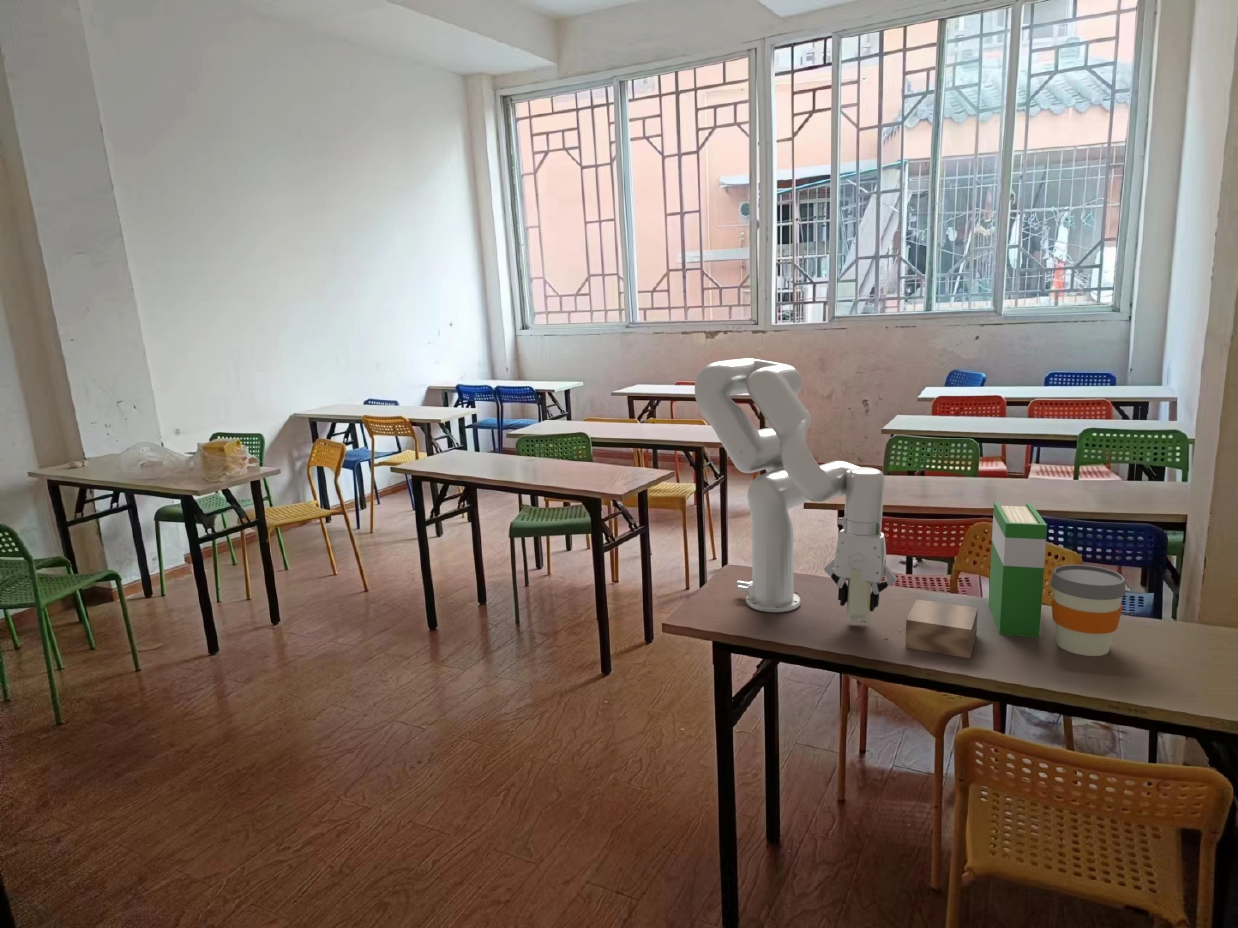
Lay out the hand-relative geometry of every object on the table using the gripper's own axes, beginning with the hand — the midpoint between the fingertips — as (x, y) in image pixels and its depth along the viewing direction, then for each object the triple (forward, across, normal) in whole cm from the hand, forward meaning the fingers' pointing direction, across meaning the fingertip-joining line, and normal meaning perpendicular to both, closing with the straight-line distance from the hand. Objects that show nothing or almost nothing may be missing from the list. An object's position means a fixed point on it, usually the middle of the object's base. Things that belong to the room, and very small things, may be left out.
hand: (857, 605), depth 165 cm
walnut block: (+4, +17, 0) cm, 18 cm away
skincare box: (+3, 0, 0) cm, 3 cm away
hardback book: (+4, +29, +18) cm, 34 cm away
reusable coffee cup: (+4, +42, +9) cm, 43 cm away
